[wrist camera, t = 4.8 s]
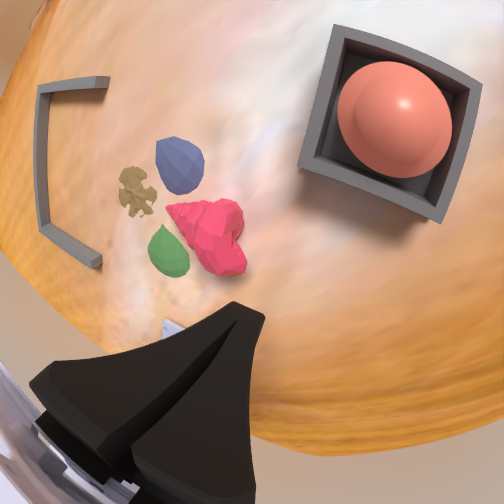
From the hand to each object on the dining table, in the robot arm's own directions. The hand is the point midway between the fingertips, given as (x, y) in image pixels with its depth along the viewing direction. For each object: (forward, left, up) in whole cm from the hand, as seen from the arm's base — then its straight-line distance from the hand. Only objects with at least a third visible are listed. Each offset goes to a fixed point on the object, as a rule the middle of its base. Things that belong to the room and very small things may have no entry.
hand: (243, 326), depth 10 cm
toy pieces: (0, +9, -8) cm, 12 cm away
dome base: (+9, -3, -8) cm, 12 cm away
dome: (+9, -3, -7) cm, 12 cm away
